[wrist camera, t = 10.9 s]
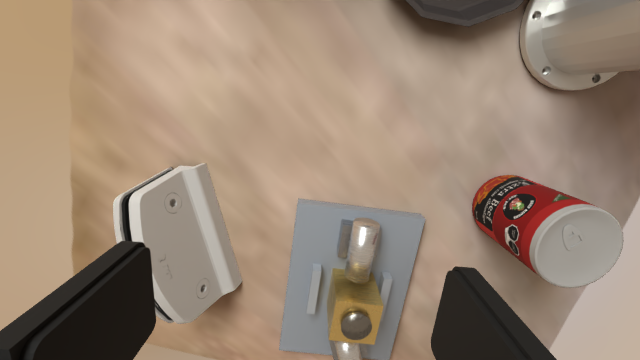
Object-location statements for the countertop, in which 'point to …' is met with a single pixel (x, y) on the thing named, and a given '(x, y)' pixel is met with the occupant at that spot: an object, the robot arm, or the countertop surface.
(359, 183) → the countertop surface
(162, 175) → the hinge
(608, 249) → the canned food
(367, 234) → the shaft
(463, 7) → the frying pan
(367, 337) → the coupler
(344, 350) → the shaft
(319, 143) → the countertop surface
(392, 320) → the board
